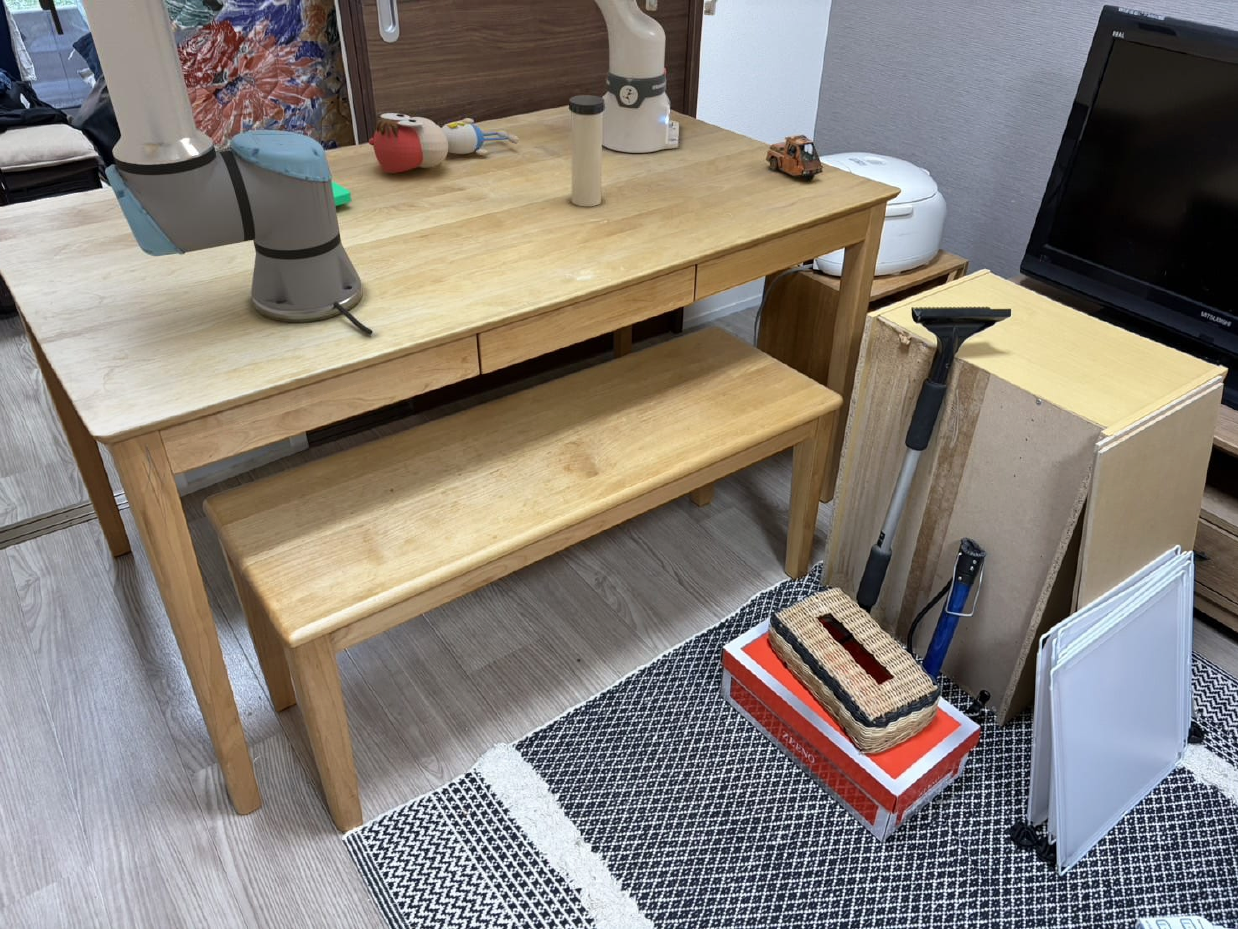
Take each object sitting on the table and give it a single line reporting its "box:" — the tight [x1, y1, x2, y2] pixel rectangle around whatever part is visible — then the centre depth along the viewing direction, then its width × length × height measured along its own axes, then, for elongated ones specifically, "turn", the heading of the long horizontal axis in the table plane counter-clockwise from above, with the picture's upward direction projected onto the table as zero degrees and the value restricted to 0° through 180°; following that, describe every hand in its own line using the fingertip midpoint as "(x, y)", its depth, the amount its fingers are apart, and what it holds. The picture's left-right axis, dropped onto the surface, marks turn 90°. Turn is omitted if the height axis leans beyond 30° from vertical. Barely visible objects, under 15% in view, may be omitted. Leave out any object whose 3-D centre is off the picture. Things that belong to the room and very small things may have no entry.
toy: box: [368, 112, 520, 174], centre depth 181 cm, size 18×10×30 cm
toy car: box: [765, 134, 824, 182], centre depth 180 cm, size 6×12×7 cm, turn 39°
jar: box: [570, 111, 603, 207], centre depth 163 cm, size 5×5×17 cm
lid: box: [568, 94, 605, 114], centre depth 158 cm, size 6×6×2 cm
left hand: (108, 29), depth 146 cm, fingers open, 13 cm apart
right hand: (680, 12), depth 147 cm, fingers open, 8 cm apart
